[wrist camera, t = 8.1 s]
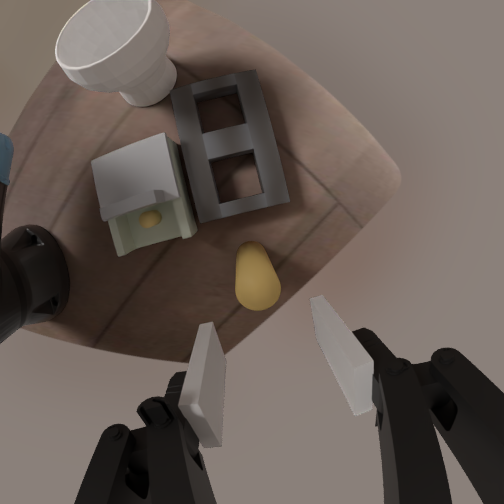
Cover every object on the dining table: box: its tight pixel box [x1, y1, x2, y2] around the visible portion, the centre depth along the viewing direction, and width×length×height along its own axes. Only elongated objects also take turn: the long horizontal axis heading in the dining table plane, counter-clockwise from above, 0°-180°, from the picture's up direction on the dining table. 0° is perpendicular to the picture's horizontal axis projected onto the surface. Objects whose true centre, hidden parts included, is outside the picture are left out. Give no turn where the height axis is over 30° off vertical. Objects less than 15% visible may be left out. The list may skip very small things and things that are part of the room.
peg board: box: [170, 69, 290, 223], centre depth 29 cm, size 10×16×3 cm, turn 13°
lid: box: [91, 132, 181, 221], centre depth 24 cm, size 9×7×4 cm
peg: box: [235, 241, 281, 311], centre depth 27 cm, size 4×4×12 cm
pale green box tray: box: [108, 137, 198, 257], centre depth 29 cm, size 9×11×4 cm
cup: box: [55, 0, 177, 107], centre depth 20 cm, size 11×11×15 cm
